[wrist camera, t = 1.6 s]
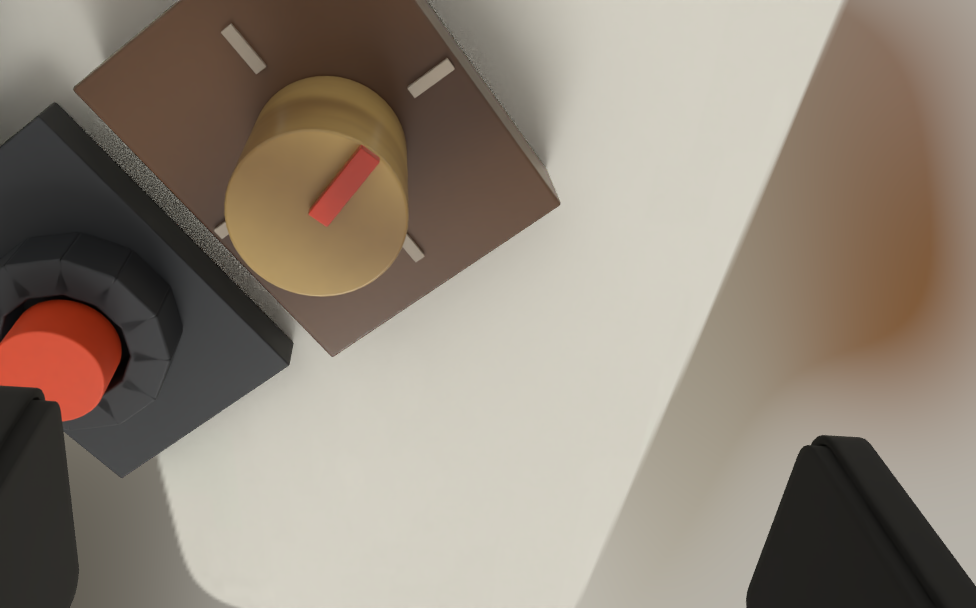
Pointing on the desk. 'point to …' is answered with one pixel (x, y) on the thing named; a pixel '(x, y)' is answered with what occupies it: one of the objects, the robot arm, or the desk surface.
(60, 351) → the power button
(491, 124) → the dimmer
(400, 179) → the dimmer knob
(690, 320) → the desk surface
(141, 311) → the switch box
